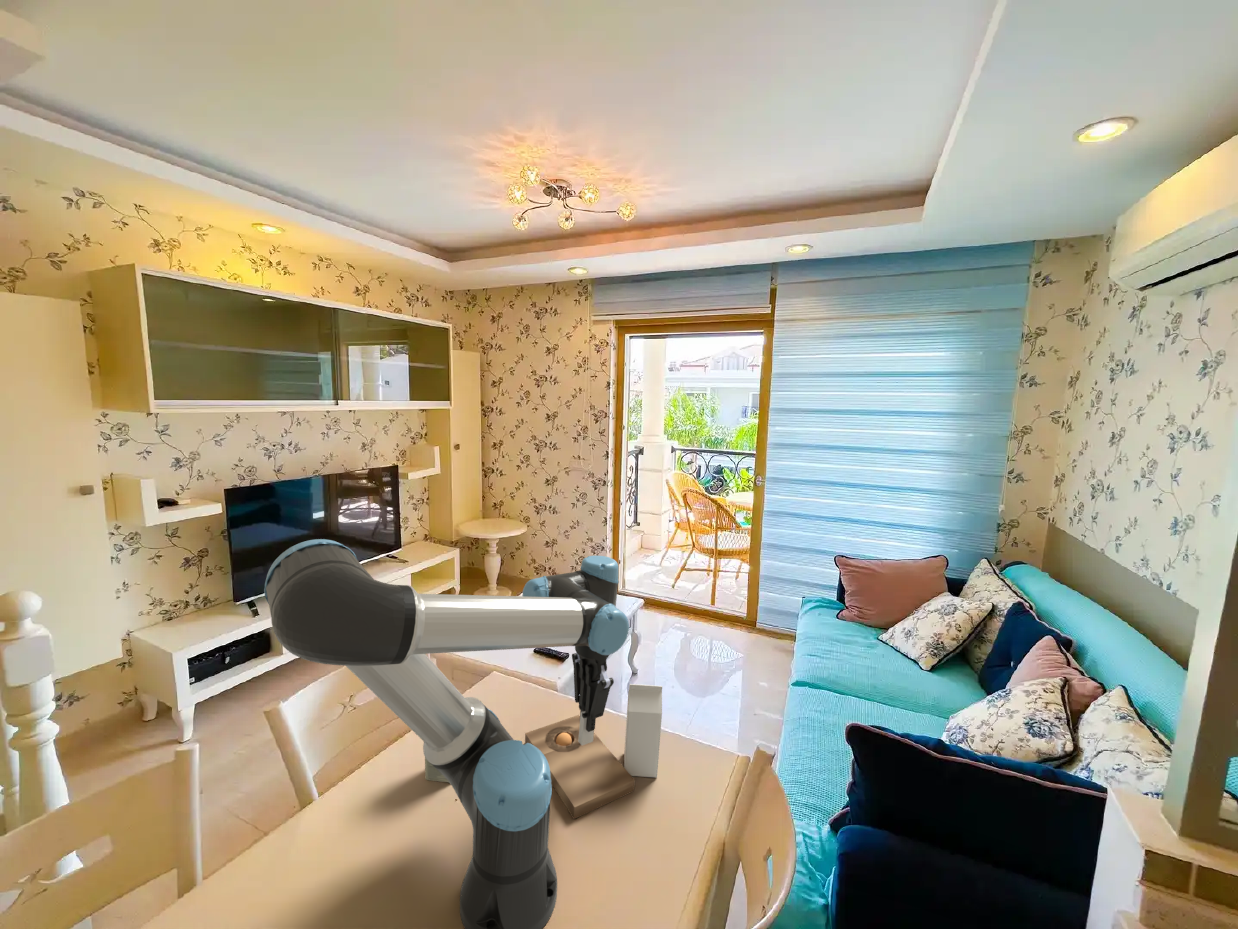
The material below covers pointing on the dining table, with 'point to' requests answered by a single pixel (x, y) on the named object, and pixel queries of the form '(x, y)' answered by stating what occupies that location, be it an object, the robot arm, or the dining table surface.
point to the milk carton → (643, 730)
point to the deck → (581, 768)
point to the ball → (564, 739)
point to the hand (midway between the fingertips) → (585, 741)
